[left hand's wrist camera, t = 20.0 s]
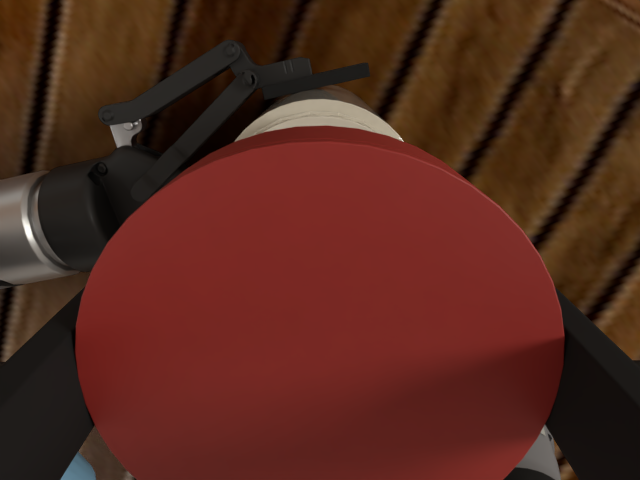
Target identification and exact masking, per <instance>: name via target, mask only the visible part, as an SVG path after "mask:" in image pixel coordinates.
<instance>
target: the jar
mask: <svg viewBox="0 0 640 480" xmlns="http://www.w3.org/2000/svg"><path fill="white" fill-rule="evenodd" d="M325 125H328V126H338V127H348V128H358V129H362V130H367V131H371V132H375V133H379V134H383V135H388V136H390V137H393V138H395V139H398V140H401V141H403V140H402V139H401V137H400V136H399V135H398V134H397V133H396V132H395V131H394V130H393V129H392V128H391V127H390V125H388V124H387V123H386V122H385V121H384V120H383V119H382V118H381V117H380V116H379V115H378V114H377V113H376V112H374V111H373V110H372V109H371V108H370V107H369V106H368V105H367V104H366V103H365V102H364V101H363V100H362V99H360V98H359V97H358V96H356V95H355V94H353V93H352V92H350V91H348V90H346V89H344V88H341V87H339V86H335V85H329V86H324V87H320V88H315V89H311V90H307V91H302V92H298V93H293V94H289V95H284V96H281V97H280V98H279V99H277V100H276V101H275V102H274V103H273V104H272V105H271V106H270V107H269V108H267V109H266V110H265V111H264V112H263V113H262V114H261V115H260V116H259V117H258V118H257V119H255V120H254V121H253V122H252V123H251V124H250V125H249V126H248V127H247V128H246V129H245V130H244V131H243V132H242V133H241V134H240V135H239V136H238V138H237V139H236V140H235V141H238V140H241V139H244V138H247V137H251V136H254V135H257V134H260V133H263V132H267V131H273V130H279V129H285V128H290V127H297V126H325ZM235 141H234V142H235ZM403 142H404V141H403Z"/></svg>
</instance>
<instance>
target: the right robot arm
mask: <svg viewBox="0 0 640 480" xmlns="http://www.w3.org/2000/svg"><path fill="white" fill-rule="evenodd" d="M229 68H231V69H232V71H233V72H234V74H235V75H236V78H235V79H234V81H233V82H232V83H231V84H230V85H229V86H228V87H227V88H226V89H225V90H224V91H223V92H222V93H221V94H220V95H219V96H218V98H217V99H216V100H215V101H214V102H213V103H212V104H211V105H210V106H209V107H208V108H207V109H206V110H205V111H204V112H203V113H202V115H201V116H200V117H199V118H198V119H197V120H196V121H195V122H194V123H193V124H192V125H191V126H190V127H189V128H188V129H187V131H186V132H185V133H184V134H183V135H182V136H181V137H180V138H179V139H178V140H177V141H176V142H175V143H174V144H173V145H172V146H171V147H170V148H169V149H168V150H167V151H166V152H165V153H164V154H162V153H160V152H158V151H155V150H153V149H151V148H148V147H146V146H143V145H141V144H138V143H137V142H136V137H137V135H138V134H139V133H140V132H142V131H144V130H145V129H146V127H147V121H146V117H149V116H152V115H155V114H157V113H159V112H161V111H162V110H164V109H166V108H167V107H169V106H170V105H172V104H174V103H175V102H177V101H178V100H180V99H181V98H183V97H185V96H186V95H188V94H189V93H191V92H193V91H194V90H196V89H197V88H199V87H201V86H202V85H204V84H205V83H207V82H209V81H210V80H212V79H213V78H215V77H216V76H218V75H220V74H221V73H223V72H224V71H226V70H228V69H229ZM369 76H370V73H369V66H368V63H361V64H356V65H352V66H347V67H343V68H339V69H334V70H330V71H325V72H321V73H317V74H312V69H311V64H310V59H307V58H302V57H299V58H294V59H290V60H286V61H281V62H277V63H273V64H268V65H264V66H260V65H257V64H256V63H254V62H253V60H252V59H251V57H250V56H249V54H248V53H247V51H246V49H245V46H244V45H243V44H242V43H240V42H238V41H233V40H226V41H224V42H222V43H221V44H219V45H217V46H216V47H214V48H213V49H211V50H210V51H208V52H207V53H205V54H203V55H202V56H200V57H199V58H197V59H196V60H194V61H193V62H191V63H189V64H188V65H186V66H185V67H183V68H182V69H180V70H179V71H177V72H175V73H174V74H172V75H171V76H169V77H168V78H166V79H165V80H163V81H161V82H160V83H158V84H157V85H155V86H154V87H152V88H151V89H149V90H147V91H146V92H144V93H143V94H141V95H140V96H138V97H137V98H135V99H133V100H132V101H126V102H120V103H116V104H111V105H106V106H103V107H101V108H100V109H99V112H98V115H99V119H100V120H101V122H102V123H104V124H106V125H110V128H111V131H112V134H113V137H114V140H115V143H116V146H117V149H115V150H114V151H113V152H112V154H110V155H109V156H106V157H101V158H97V159H92V160H88V161H83V162H79V163H74V164H70V165H65V166H61V167H57V168H54V169H52V170H51V171H45V170H42V171H38V172H34V173H29V174H25V175H20V176H16V177H11V178H7V179H3V180H0V289H4V288H8V287H13V286H18V285H24V284H28V283H33V282H38V281H44V280H49V279H54V278H59V277H65V276H70V275H74V274H78V273H79V272H81V271H82V272H89V271H92V268H93V267H94V265H95V263H96V262H97V260H98V258H99V256H100V255H101V253H102V251H103V249H104V248H105V246H106V244H107V243H108V241H109V240H110V239H111V238H112V236H113V235H114V234H115V233H116V232H117V230H118V229H119V228H120V227H121V226H122V224H123V223H124V222H125V221H126V219H127V218H128V217H129V216H130V215H131V214H133V213H134V212H135V211H136V210H137V209H138V208H139V207H140V206H141V205H143V204H144V203H145V202H146V201H147V200H148V199H149V198H150V197H152V196H153V195H154V194H155V193H156V192H158V191H159V190H160V189H162V188H163V187H164V186H165V185H167V184H168V183H169V182H170V181H172V180H173V179H174V178H176V177H177V176H178V175H179V174H181V173H182V172H183V171H185V170H186V169H187V168H188V167H187V166H186V165H185V164H186V163H187V162H188V161H189V160H190V159H191V158H192V157H193V156H194V155H195V154H196V153H197V151H198V150H199V149H200V148H201V147H202V146H203V145H204V144H205V143H206V142H207V141H208V140H209V139H210V138H211V137H212V135H213V134H214V133H215V132H216V131H217V130H218V129H219V128H220V127H221V126H222V125H223V124H224V123H225V122H226V121H227V120H228V119H229V118H230V117H231V116H232V115H233V114H234V113H235V112H236V111H237V110H238V109H239V108H240V106H241V105H242V104H243V103H244V102H245V101H246V100H247V99H248V98H249V97H250V96H251V95H252V94H253V93H254V92H255V91H256V90H257V89H258V88H262V91H263V95H264V99H265V100H267V99H271V98H276V97H280V96H284V95H289V94H293V93H298V92H302V91H307V90H311V89H315V88H320V87H324V86H329V85H333V84H338V83H342V82H346V81H351V80H355V79H360V78H364V77H369ZM61 480H96V476H95V472H94V470H93V468H92V466H91V465H90V464H89V463H88V462H87V461H86V459H85V458H84V457H83V456H82V455H81V454H80V453H79V452H77V454H76V456H75V457H74V459H73V460H72V462H71V464H70V465H69V467H68V468H67V470H66V472H65V473H64V475H63V476H62V478H61Z"/></svg>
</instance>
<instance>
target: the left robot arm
mask: <svg viewBox="0 0 640 480" xmlns="http://www.w3.org/2000/svg"><path fill="white" fill-rule="evenodd" d="M84 289H85V287H84V288H83V289H82V290H81V291H80V292H79V293H78V294H77V295H76V296H75V297H74V298H73V299H72V300H71V301H70V302H68V303H67V304H66V305H65V306H64V307H63V308H62V309H61V310H60V311H59V312H58V313H57V314H56V315H55V316H54V317H53V318H52V319H51V320H49V321H48V322H47V323H46V324H45V325H44V326H43V327H42V328H41V329H40V330H39V331H38V332H37V333H36V334H35V335H34V336H33V337H32V338H30V339H29V340H28V341H27V342H26V343H25V344H24V345H23V346H22V347H21V348H20V349H19V350H18V351H17V352H16V353H15V354H14V355H13V356H11V357H10V358H9V359H8V360H7V361H6V362H0V480H61V478H62V476H63V475H64V473H65V472H66V470H67V468H68V467H69V465H70V464H71V462H72V460H73V459H74V457H75V456H76V454H77V452H78V451H79V449H80V448H81V446H82V444H83V443H84V441H85V440H86V438H87V436H88V435H89V433H90V432H91V430H92V428H93V427H94V425H95V424H94V422H93V420H92V418H91V416H90V413H89V411H88V409H87V407H86V404H85V401H84V397H83V393H82V389H81V385H80V381H79V377H78V372H77V366H76V357H75V335H76V322H77V317H78V312H79V307H80V302H81V297H82V294H83V292H84ZM555 290H556V293H557V297H558V300H559V304H560V307H561V312H562V320H563V328H564V336H565V344H564V366H563V370H562V375H561V379H560V383H559V388H558V392H557V396H556V399H555V402H554V405H553V408H552V410H551V413H550V416H549V418H548V419H547V421H546V423H545V425H544V427H543V429H542V431H541V433H540V434H539V436H538V438H537V440H536V441H535V442H534V444H533V445H532V447H531V448H530V449H529V451H528V452H527V453H526V455H525V456H524V458H523V459H522V460H521V461H520V462H519V463H518V464H517V466H516V467H515V468H514V469H513V470H512V471H511V472H510V473H509V474H508V475H507V476H506V477H505V478H504V479H503V480H561V477H560V472H559V468H558V464H557V460H556V458H555V455H554V441H553V438H554V440H555V442H556V443H557V445H558V446H559V448H560V450H561V451H562V453H563V454H564V456H565V458H566V459H567V461H568V462H569V464H570V466H571V467H572V469H573V470H574V472H575V474H576V475H577V477H578V478H579V480H640V360H631V359H630V358H629V357H628V356H627V355H626V354H625V353H624V352H623V351H622V350H621V349H620V348H619V347H618V346H617V345H616V344H614V343H613V342H612V341H611V340H610V339H609V338H608V337H607V336H606V335H605V334H604V333H603V332H602V331H601V330H600V329H599V328H598V327H597V326H596V325H594V324H593V323H592V322H591V321H590V320H589V319H588V318H587V317H586V316H585V315H584V314H583V313H582V312H581V311H580V310H579V309H578V308H577V307H575V306H574V305H573V304H572V303H571V302H570V301H569V300H568V299H567V298H566V297H565V296H564V295H563V294H562V293H561V292H560V291H559V290H558V289H556V288H555Z"/></svg>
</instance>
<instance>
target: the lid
mask: <svg viewBox="0 0 640 480" xmlns="http://www.w3.org/2000/svg"><path fill="white" fill-rule="evenodd" d="M564 344H565V336H564V328H563V320H562V312H561V307H560V304H559V300H558V297H557V293H556V290H555V287H554V283H553V281H552V279H551V277H550V275H549V272H548V270H547V268H546V266H545V264H544V262H543V260H542V258H541V256H540V254H539V253H538V251H537V250H536V248H535V247H534V246H533V244H532V243H531V241H530V240H529V238H528V237H527V236H526V234H525V233H524V231H523V230H522V229H521V228H520V227H519V226H518V225H517V224H516V222H515V221H514V220H513V219H512V218H511V217H510V216H509V215H508V214H507V213H506V212H505V211H504V210H503V209H502V208H501V207H500V206H499V205H498V204H497V203H495V202H494V201H493V200H491V199H490V198H489V197H488V196H486V195H485V194H484V193H483V192H481V191H480V190H479V189H477V188H476V187H475V186H474V185H472V184H471V183H470V182H469V181H467V180H466V179H465V178H463V177H462V176H461V175H460V174H458V173H457V172H456V171H454V170H453V169H452V168H450V167H449V166H448V165H446V164H445V163H444V162H443V161H441V160H439V159H437V158H436V157H434V156H432V155H430V154H429V153H427V152H425V151H423V150H421V149H420V148H418V147H416V146H413V145H411V144H408V143H406V142H403V141H401V140H398V139H395V138H393V137H390V136H388V135H383V134H379V133H375V132H371V131H367V130H362V129H358V128H348V127H338V126H328V125H325V126H297V127H290V128H285V129H279V130H273V131H267V132H263V133H260V134H257V135H254V136H251V137H247V138H244V139H241V140H238V141H235V142H233V143H231V144H229V145H227V146H225V147H223V148H221V149H219V150H216V151H214V152H212V153H210V154H208V155H207V156H205V157H204V158H202V159H201V160H199V161H198V162H196V163H195V164H193V165H192V166H190V167H189V168H187V169H186V170H185V171H183V172H182V173H181V174H179V175H178V176H177V177H176V178H174V179H173V180H172V181H170V182H169V183H168V184H167V185H165V186H164V187H163V188H162V189H160V190H159V191H158V192H156V193H155V194H154V195H153V196H152V197H150V198H149V199H148V200H147V201H146V202H145V203H144V204H143V205H141V206H140V207H139V208H138V209H137V210H136V211H135V212H134V213H133V214H131V215H130V216H129V217H128V218H127V219H126V221H125V222H124V223H123V224H122V226H121V227H120V228H119V229H118V230H117V232H116V233H115V234H114V235H113V236H112V238H111V239H110V240H109V241H108V243H107V244H106V246H105V248H104V249H103V251H102V253H101V255H100V256H99V258H98V260H97V262H96V263H95V265H94V267H93V268H92V271H91V273H90V276H89V278H88V281H87V284H86V286H85V289H84V292H83V294H82V297H81V302H80V307H79V312H78V317H77V322H76V335H75V357H76V366H77V372H78V377H79V381H80V385H81V389H82V393H83V397H84V401H85V404H86V407H87V409H88V411H89V413H90V416H91V418H92V420H93V422H94V424H95V427H96V429H97V430H98V432H99V433H100V435H101V436H102V438H103V440H104V441H105V443H106V444H107V446H108V448H109V449H110V450H111V452H112V453H113V454H114V455H115V457H116V458H117V459H118V460H119V461H120V463H121V464H122V465H123V466H124V467H125V469H126V470H127V471H128V472H129V473H130V474H131V475H133V476H134V477H135V478H136V479H137V480H503V479H504V478H505V477H506V476H507V475H508V474H509V473H510V472H511V471H512V470H513V469H514V468H515V467H516V466H517V464H518V463H519V462H520V461H521V460H522V459H523V458H524V456H525V455H526V453H527V452H528V451H529V449H530V448H531V447H532V445H533V444H534V442H535V441H536V440H537V438H538V436H539V434H540V433H541V431H542V429H543V427H544V425H545V423H546V421H547V419H548V418H549V416H550V413H551V410H552V408H553V405H554V402H555V399H556V396H557V392H558V388H559V383H560V379H561V375H562V370H563V366H564Z"/></svg>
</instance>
